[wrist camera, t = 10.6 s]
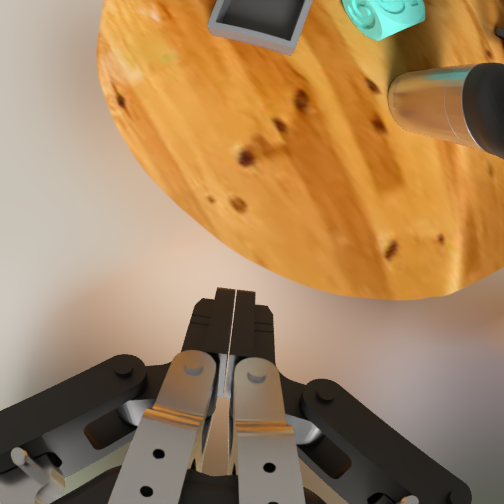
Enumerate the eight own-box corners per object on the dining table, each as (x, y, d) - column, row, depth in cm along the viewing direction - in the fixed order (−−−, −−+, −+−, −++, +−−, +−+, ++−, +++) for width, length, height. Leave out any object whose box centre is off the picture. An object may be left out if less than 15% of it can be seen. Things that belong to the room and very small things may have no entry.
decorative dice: (408, 27, 29) (436, 16, 22) (368, 45, 31) (392, 34, 24) (376, -16, 26) (398, -35, 19) (334, 0, 28) (351, -20, 21)
